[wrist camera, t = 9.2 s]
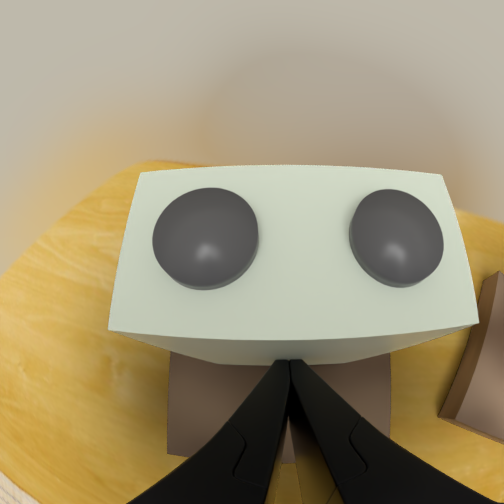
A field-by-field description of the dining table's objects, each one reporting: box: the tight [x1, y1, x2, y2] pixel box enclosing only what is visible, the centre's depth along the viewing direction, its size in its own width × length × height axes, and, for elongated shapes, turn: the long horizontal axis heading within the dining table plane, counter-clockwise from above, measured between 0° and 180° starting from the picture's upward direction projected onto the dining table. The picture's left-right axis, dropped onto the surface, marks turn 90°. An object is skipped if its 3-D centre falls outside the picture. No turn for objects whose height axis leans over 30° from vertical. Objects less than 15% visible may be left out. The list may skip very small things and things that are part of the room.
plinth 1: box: [167, 351, 391, 463], centre depth 14 cm, size 10×11×2 cm
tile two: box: [108, 165, 479, 366], centre depth 9 cm, size 3×6×10 cm, turn 89°
